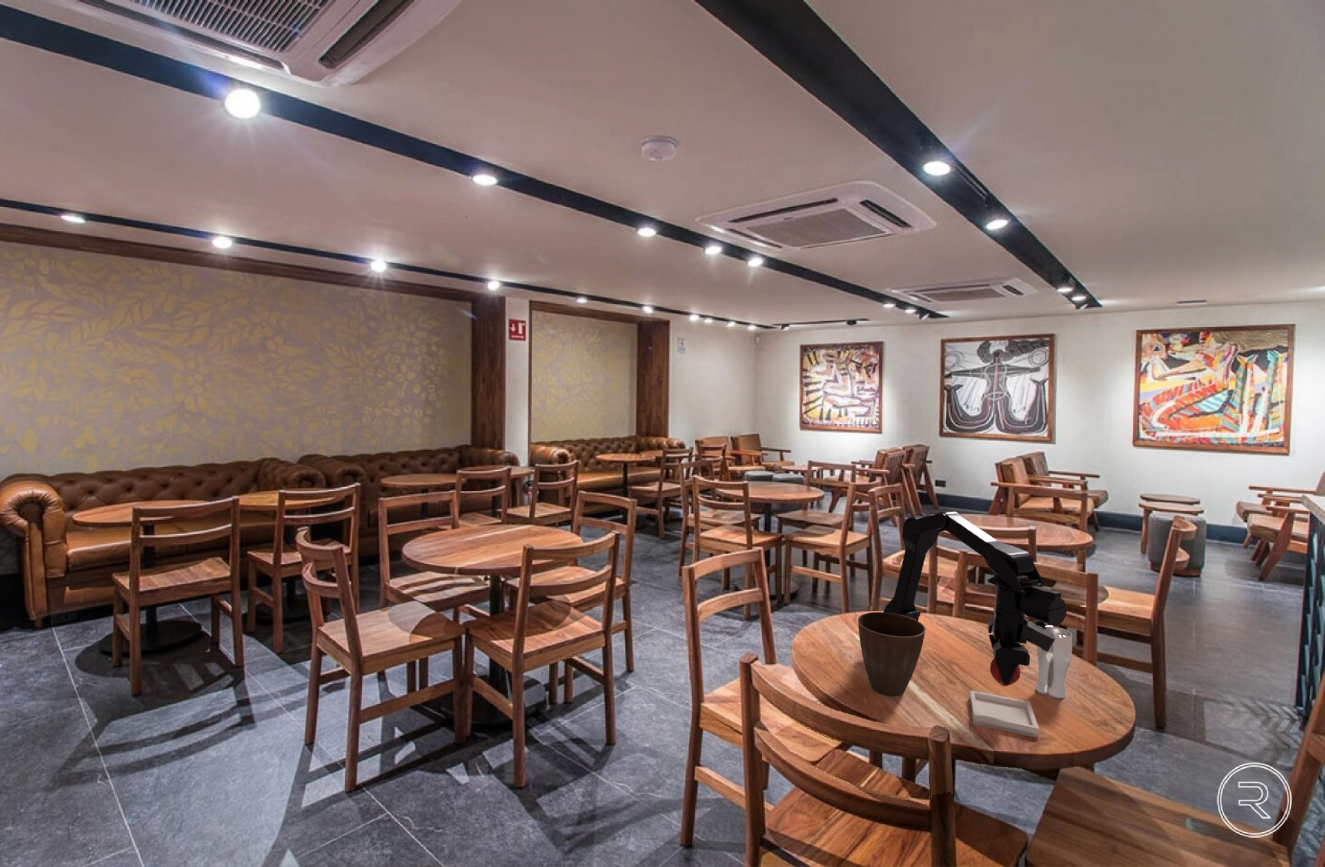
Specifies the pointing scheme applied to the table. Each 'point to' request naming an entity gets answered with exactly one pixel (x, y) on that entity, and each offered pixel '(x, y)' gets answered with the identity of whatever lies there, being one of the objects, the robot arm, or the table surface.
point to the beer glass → (1054, 664)
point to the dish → (1003, 713)
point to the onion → (997, 676)
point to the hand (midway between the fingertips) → (1004, 678)
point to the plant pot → (890, 650)
